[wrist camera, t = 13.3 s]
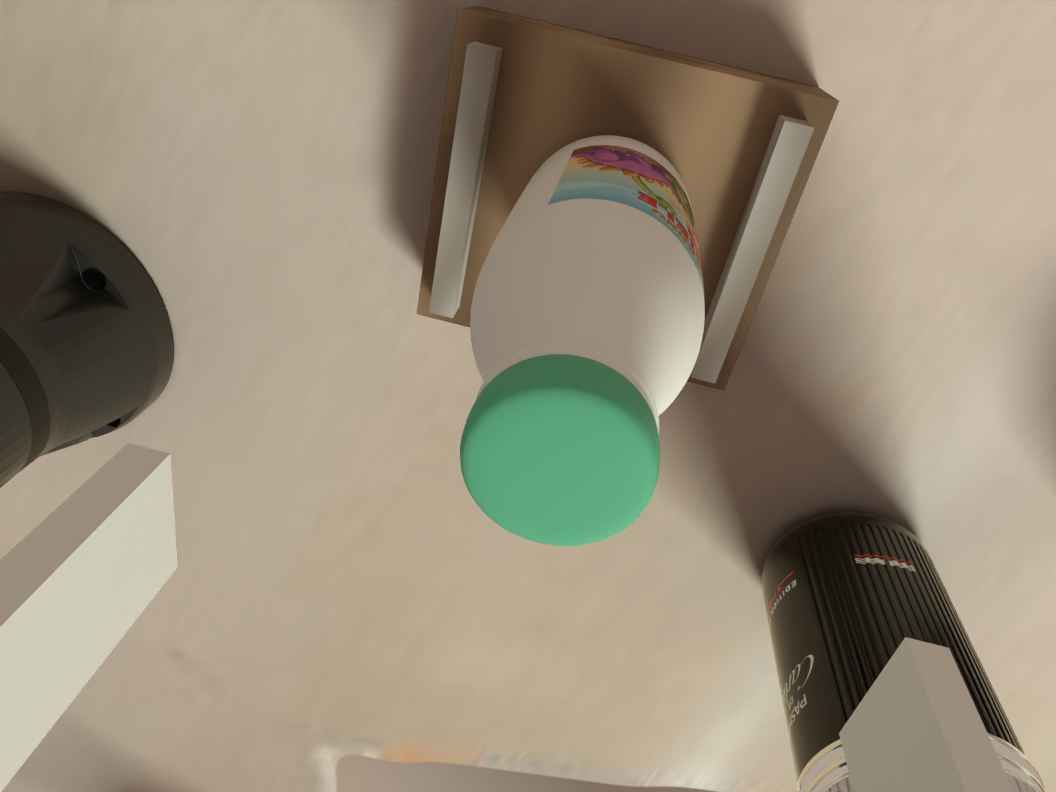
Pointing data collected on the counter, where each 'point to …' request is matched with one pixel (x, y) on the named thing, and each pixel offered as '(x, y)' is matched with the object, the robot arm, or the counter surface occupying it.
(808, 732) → the black water bottle
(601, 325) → the milk bottle
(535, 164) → the display riser
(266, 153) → the counter surface
